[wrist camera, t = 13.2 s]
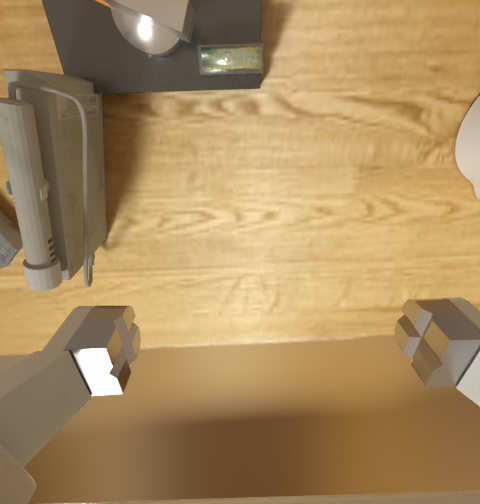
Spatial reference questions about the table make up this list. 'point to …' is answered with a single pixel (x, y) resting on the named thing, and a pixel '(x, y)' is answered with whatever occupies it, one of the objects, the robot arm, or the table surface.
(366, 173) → the table surface
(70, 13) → the stand
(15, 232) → the grey stone slab
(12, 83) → the geiger counter
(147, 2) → the knob
